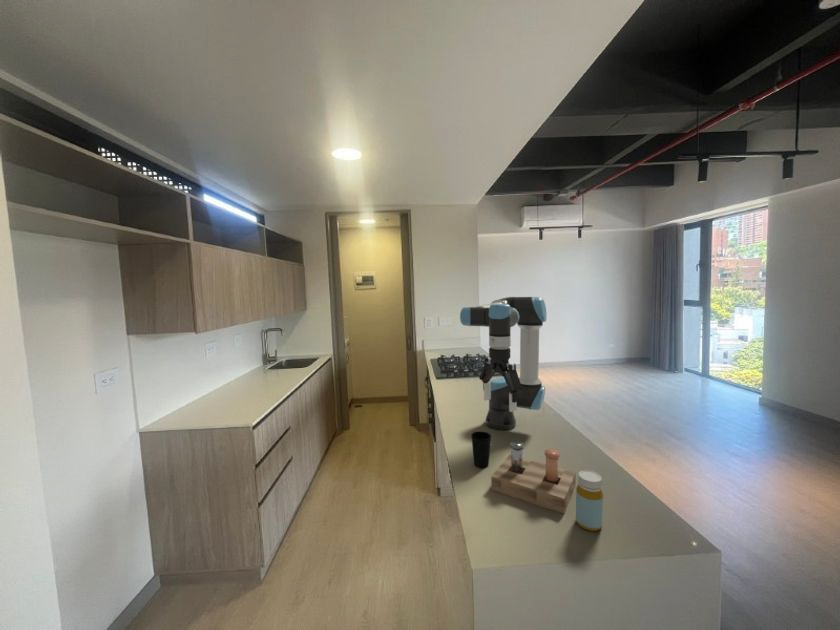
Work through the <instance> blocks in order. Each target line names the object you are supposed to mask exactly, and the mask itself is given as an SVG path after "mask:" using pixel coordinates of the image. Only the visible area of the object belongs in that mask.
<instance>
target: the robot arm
mask: <svg viewBox="0 0 840 630" xmlns="http://www.w3.org/2000/svg"><path fill="white" fill-rule="evenodd" d="M459 314H460V315H459V320H460V323H461V324H462V326H467V327H488V347H489V348H488V357H485V358H484V362H483V365H482V369H481V372H480V374H479V377H478V379H479V381H481V382H482V387H483V388H482V389H483V400H484V401H488V411H487V413H486V416H485V425H486V426H487V427H488V428H491V429H494V430H497V431H509V430H513V429H515V428H516V427H517V420H516V416H515V413H514V411H515V412H516V411H517V408H520V409H526V410H535V411H539V410H541V409H542V407H543V404H544V400H545V395H546V387H545V386H544V385H543V384H542V383H543V382H542V381H541V379H540V378H539V367H540V366H539V360H540V359H539V358H540V357H539V356H540V355H539V354H540V329H541V328H542V327H543V323H544V322H545V323H546V322H547V307H546V303H545V299H544V298H542V297H541V296H507V297H503V298H499V299H495V300H493V301H492V302H491V303H487V304H484V305H478V306H475V307H474V306H471V307H470V306H466V307H462V309H460V313H459ZM515 325H517V327H519V329H520V331H519V332H520V336H519V337H520V339H519V341H520V342H519V344H520V345H519V354H520V355H519V374H518V371H517V365H516V363H510V361H509V360H510V358H511V348H510V347H512V345H511V343H512V342H511V328H512V327H514V326H515ZM496 373H497V374H499V375H501V377H500V378H495V379H492V378H493V376H494V375H495V374H496ZM491 379H492V380H491Z"/></svg>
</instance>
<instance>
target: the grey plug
mask: <svg viewBox="0 0 840 630" xmlns="http://www.w3.org/2000/svg"><path fill="white" fill-rule="evenodd" d="M509 447H510V448H511V451H510V452H511V453H510V455H511V468H512V469H513V470H515V471H521V470H523V458H524V448H525V444H524V442H522V441H519V440H512V441H510V443H509Z"/></svg>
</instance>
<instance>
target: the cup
mask: <svg viewBox="0 0 840 630" xmlns="http://www.w3.org/2000/svg"><path fill="white" fill-rule="evenodd" d="M470 435H471V444H472V455H473V464H474V466H475V467H476V468H478V469H486V468H488V467H489V463H490V453H491V442H492V435H491V433H489V432H487V431H475V432H472V434H470Z"/></svg>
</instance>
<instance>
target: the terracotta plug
mask: <svg viewBox="0 0 840 630" xmlns="http://www.w3.org/2000/svg"><path fill="white" fill-rule="evenodd" d="M560 455H561V453H560V451H559V450H556V449H552V448H547V449H545V450H544V456H545V464H546V475H545V477H546V479H548V480H550V481H557V480H558V468H559V458H560Z"/></svg>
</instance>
